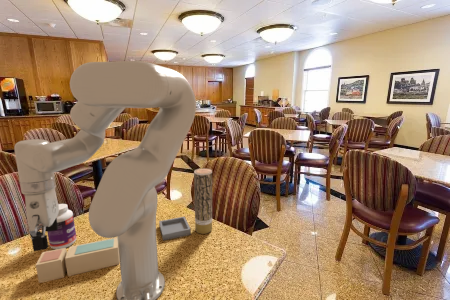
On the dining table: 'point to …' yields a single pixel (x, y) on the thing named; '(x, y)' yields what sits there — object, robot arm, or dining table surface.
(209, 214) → the bark textured cylinder
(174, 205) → the dining table surface
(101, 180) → the robot arm
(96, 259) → the beige rectangular block
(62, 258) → the stub
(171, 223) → the tray
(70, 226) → the pill bottle
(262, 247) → the dining table surface
